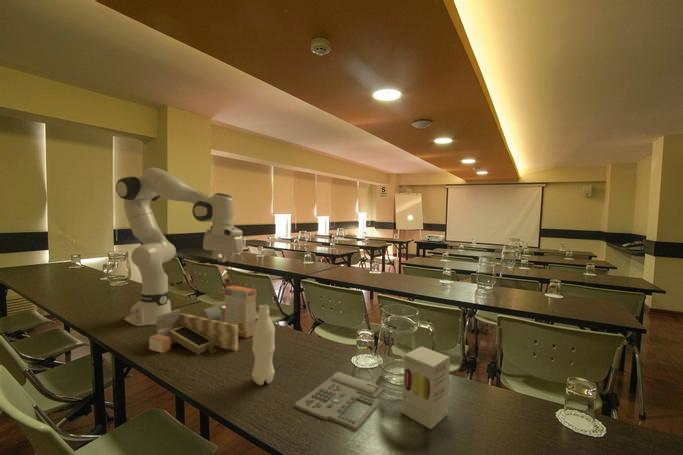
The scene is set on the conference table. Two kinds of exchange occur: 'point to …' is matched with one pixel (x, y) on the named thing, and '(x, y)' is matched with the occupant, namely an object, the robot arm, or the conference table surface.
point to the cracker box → (241, 309)
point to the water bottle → (263, 347)
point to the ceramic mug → (212, 313)
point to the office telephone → (340, 399)
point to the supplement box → (425, 386)
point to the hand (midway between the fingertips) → (221, 261)
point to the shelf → (199, 328)
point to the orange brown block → (159, 343)
